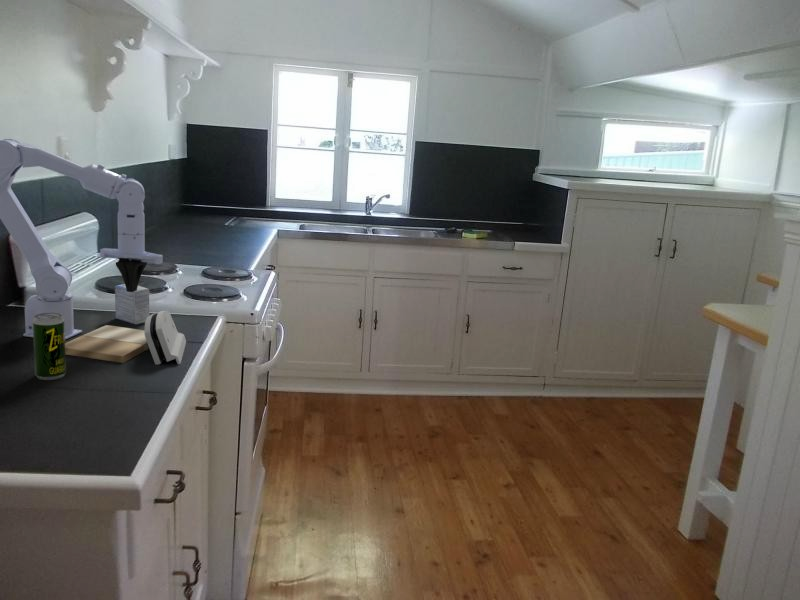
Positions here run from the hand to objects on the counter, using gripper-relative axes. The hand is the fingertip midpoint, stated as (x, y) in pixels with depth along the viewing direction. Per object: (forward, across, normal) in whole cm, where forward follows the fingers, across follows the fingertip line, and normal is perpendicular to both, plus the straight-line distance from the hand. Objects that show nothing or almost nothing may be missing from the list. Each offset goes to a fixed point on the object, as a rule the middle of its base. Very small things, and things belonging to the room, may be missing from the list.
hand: (131, 291), depth 158 cm
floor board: (+10, +2, -6) cm, 12 cm away
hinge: (+11, +13, -9) cm, 19 cm away
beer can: (+11, +1, -30) cm, 32 cm away
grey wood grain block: (+11, -6, +10) cm, 16 cm away
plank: (+10, +1, -14) cm, 18 cm away
